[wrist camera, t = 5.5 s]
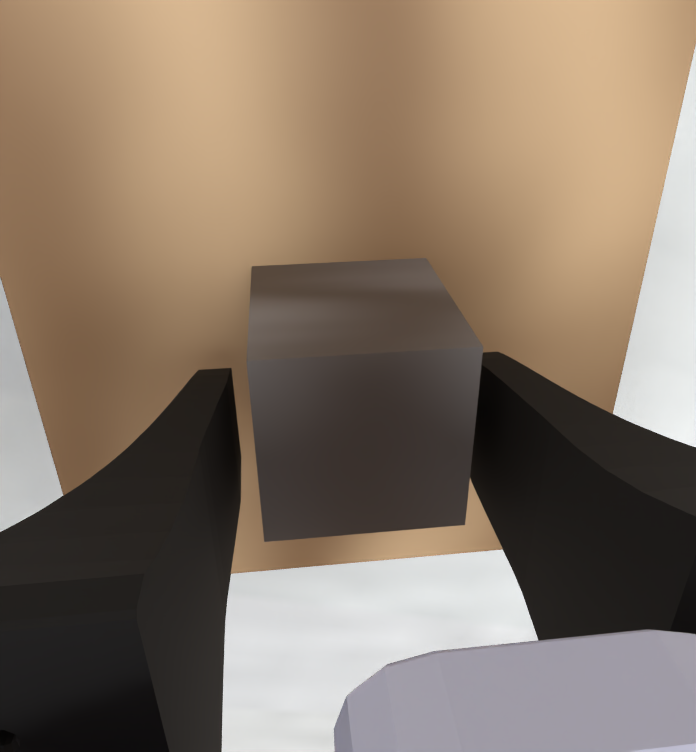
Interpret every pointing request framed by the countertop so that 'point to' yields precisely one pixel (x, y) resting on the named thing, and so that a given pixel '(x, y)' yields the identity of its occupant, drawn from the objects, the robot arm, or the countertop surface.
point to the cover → (329, 234)
